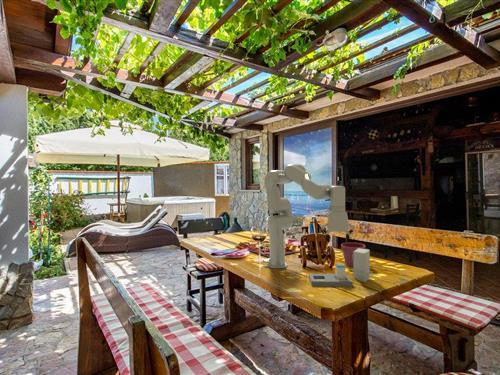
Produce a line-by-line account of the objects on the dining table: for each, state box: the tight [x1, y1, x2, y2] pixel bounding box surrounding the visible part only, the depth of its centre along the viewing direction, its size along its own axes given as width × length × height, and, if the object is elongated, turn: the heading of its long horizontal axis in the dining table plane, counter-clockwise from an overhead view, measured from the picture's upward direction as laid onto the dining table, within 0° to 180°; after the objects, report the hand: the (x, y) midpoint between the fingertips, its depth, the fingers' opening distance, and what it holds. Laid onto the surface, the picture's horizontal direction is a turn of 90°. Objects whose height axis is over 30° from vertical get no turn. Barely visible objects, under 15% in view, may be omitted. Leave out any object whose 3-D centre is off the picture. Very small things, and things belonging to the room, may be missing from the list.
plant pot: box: [340, 242, 366, 268], centre depth 184 cm, size 14×14×13 cm
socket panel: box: [308, 273, 354, 287], centre depth 153 cm, size 20×12×3 cm, turn 85°
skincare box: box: [352, 248, 371, 283], centre depth 158 cm, size 8×7×16 cm
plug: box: [335, 262, 346, 280], centre depth 152 cm, size 4×4×9 cm
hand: (337, 242), depth 155 cm, fingers open, 9 cm apart
